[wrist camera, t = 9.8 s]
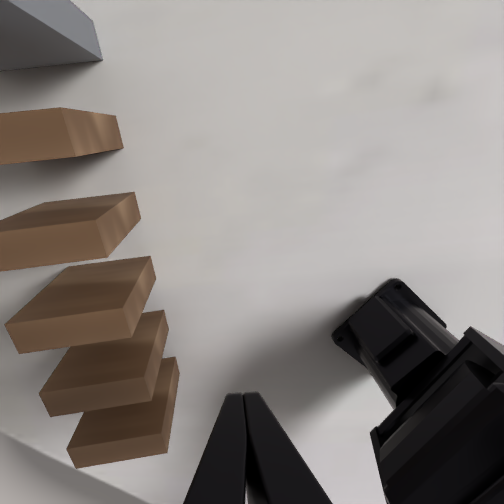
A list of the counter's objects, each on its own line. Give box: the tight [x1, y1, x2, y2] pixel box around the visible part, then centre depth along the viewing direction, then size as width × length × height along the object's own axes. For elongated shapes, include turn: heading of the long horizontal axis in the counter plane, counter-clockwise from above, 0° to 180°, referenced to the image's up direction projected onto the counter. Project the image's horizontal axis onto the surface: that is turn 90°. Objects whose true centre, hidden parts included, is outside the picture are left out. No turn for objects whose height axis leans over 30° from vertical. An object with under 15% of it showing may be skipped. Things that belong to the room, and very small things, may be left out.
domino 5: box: [66, 357, 180, 469], centre depth 19 cm, size 2×5×6 cm, turn 95°
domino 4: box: [39, 310, 169, 417], centre depth 18 cm, size 2×5×6 cm, turn 96°
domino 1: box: [0, 108, 124, 165], centre depth 13 cm, size 2×5×6 cm, turn 95°
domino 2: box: [0, 192, 141, 272], centre depth 15 cm, size 2×5×6 cm, turn 96°
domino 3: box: [4, 256, 156, 354], centre depth 16 cm, size 2×5×6 cm, turn 96°
